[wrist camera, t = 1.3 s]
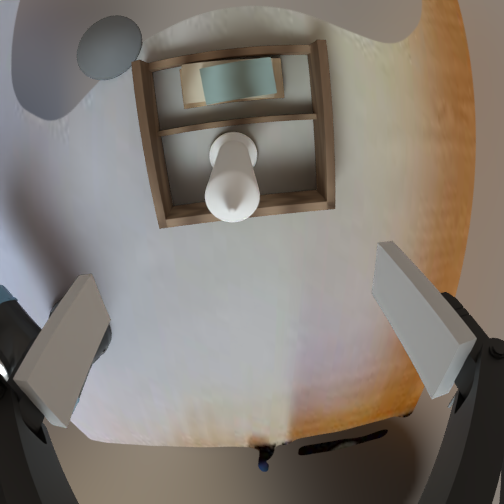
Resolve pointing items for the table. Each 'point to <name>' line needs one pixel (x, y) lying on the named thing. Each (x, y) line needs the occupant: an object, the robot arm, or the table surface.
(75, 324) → the robot arm
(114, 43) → the pad
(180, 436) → the table surface
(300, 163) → the table surface
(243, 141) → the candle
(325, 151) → the rack
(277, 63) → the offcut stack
